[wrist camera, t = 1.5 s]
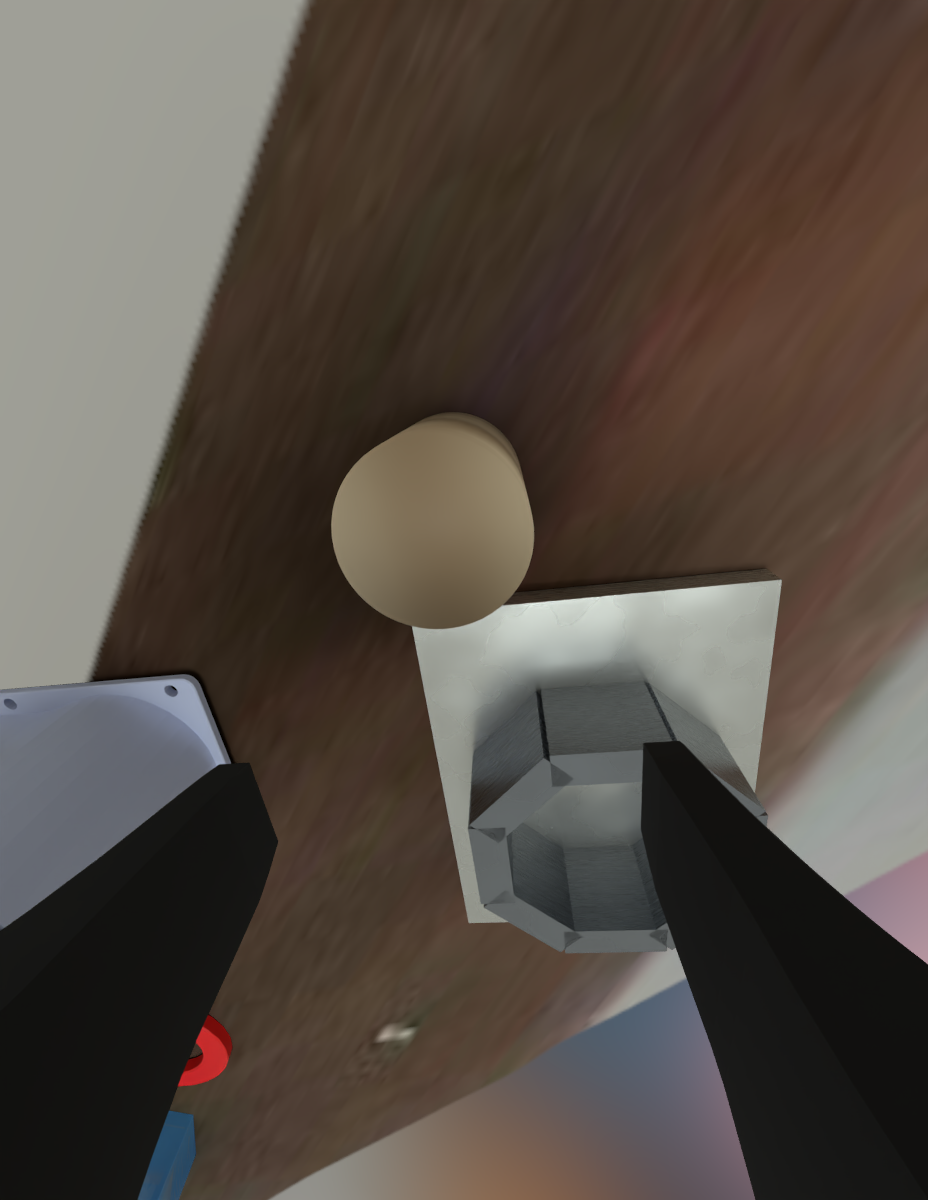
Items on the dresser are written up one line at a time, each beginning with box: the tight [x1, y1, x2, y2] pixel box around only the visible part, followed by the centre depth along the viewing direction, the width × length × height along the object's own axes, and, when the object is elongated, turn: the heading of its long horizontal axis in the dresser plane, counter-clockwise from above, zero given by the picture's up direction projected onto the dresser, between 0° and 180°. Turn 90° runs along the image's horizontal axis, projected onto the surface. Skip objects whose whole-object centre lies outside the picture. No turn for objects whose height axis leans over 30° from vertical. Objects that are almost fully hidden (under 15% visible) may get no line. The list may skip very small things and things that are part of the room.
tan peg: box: [331, 412, 534, 629], centre depth 14 cm, size 4×4×6 cm
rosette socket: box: [412, 569, 782, 953], centre depth 19 cm, size 12×16×4 cm
